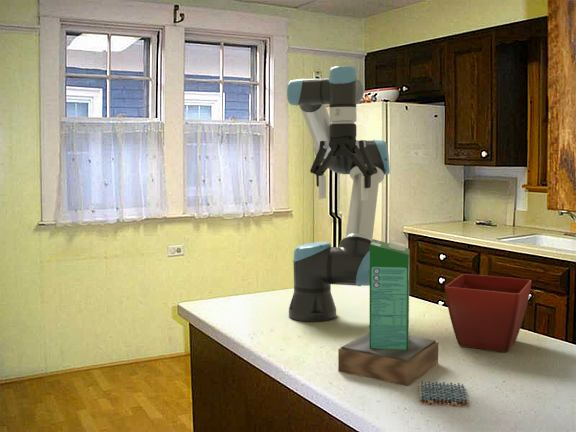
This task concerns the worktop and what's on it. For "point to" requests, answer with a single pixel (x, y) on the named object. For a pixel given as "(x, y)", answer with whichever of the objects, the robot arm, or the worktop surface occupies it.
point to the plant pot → (487, 310)
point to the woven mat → (443, 394)
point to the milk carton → (389, 295)
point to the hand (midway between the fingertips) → (343, 199)
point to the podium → (388, 360)
